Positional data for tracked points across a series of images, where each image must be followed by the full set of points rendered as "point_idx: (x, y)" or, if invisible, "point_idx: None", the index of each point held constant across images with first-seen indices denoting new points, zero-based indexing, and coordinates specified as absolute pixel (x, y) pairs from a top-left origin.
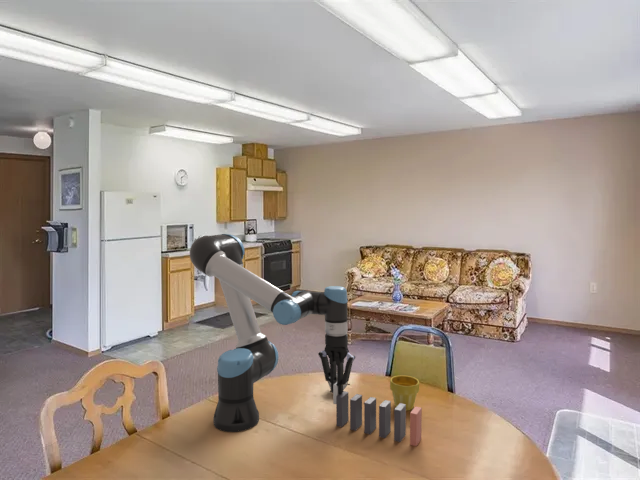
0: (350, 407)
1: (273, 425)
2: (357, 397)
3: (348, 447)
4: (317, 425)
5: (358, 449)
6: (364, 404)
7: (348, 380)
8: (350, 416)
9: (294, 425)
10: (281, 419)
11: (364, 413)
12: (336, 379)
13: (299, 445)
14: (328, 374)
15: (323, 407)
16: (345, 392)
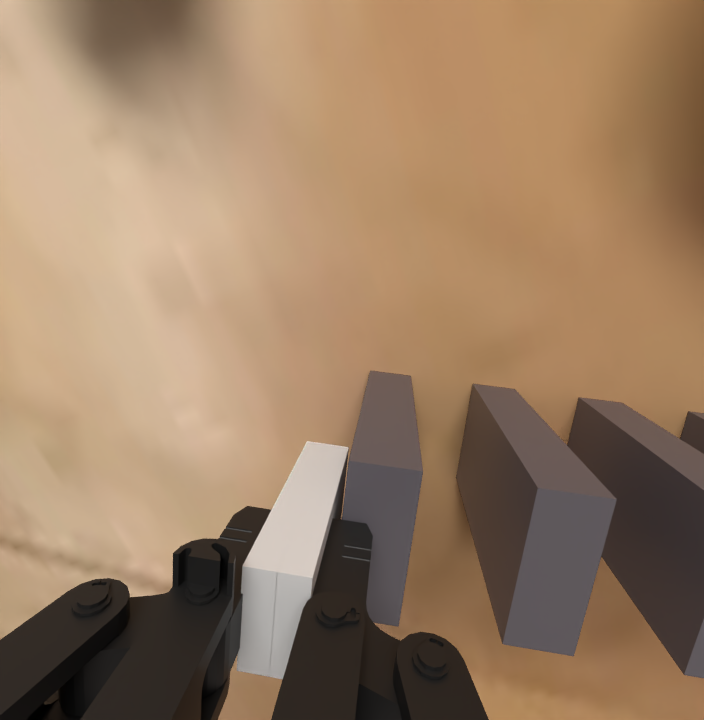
0: (487, 578)
1: (36, 568)
2: (573, 577)
3: (504, 656)
4: (250, 495)
5: (563, 660)
6: (672, 656)
7: (467, 674)
8: (472, 527)
9: (133, 535)
10: (30, 496)
11: (621, 584)
12: (225, 616)
13: (261, 699)
14: (25, 661)
15: (168, 242)
16: (392, 494)
